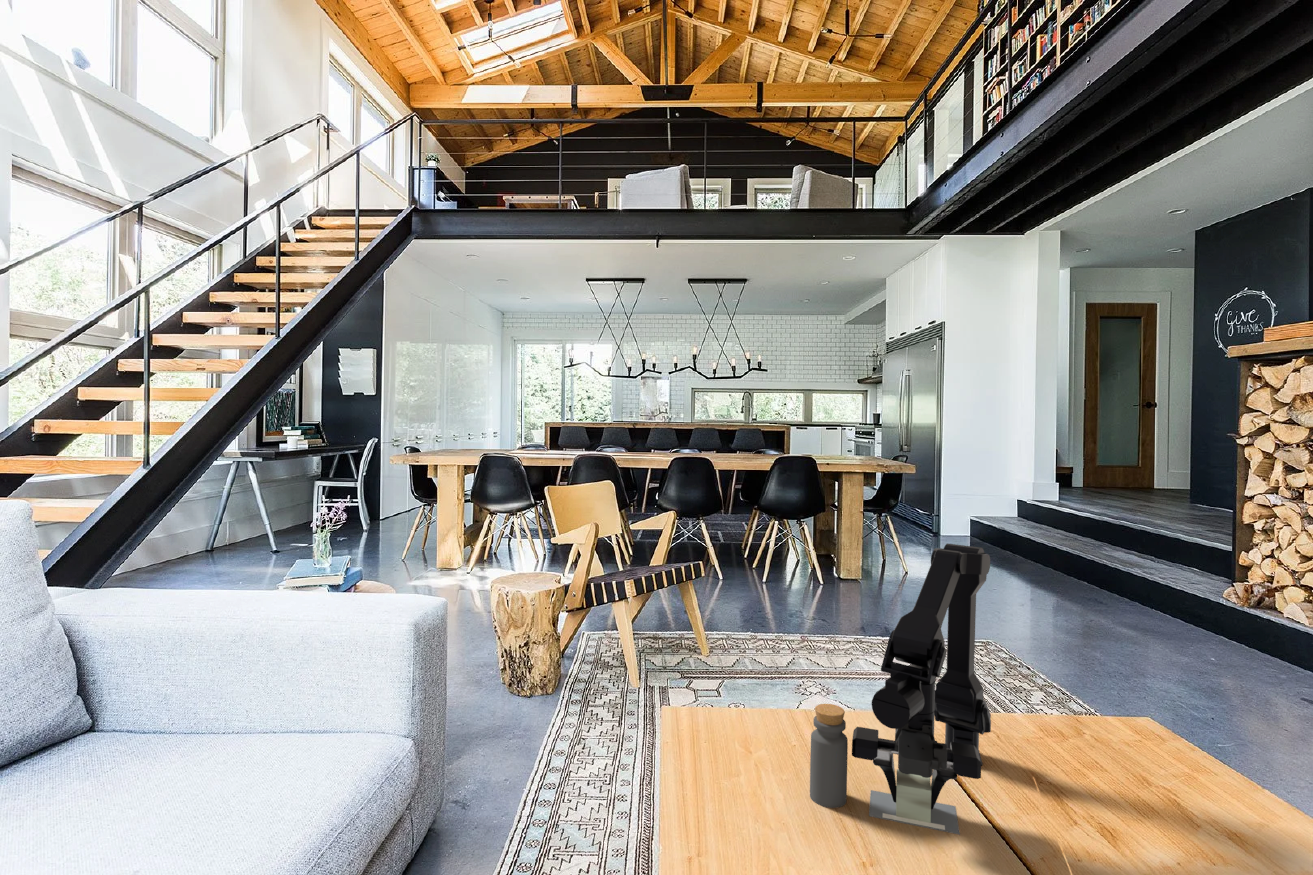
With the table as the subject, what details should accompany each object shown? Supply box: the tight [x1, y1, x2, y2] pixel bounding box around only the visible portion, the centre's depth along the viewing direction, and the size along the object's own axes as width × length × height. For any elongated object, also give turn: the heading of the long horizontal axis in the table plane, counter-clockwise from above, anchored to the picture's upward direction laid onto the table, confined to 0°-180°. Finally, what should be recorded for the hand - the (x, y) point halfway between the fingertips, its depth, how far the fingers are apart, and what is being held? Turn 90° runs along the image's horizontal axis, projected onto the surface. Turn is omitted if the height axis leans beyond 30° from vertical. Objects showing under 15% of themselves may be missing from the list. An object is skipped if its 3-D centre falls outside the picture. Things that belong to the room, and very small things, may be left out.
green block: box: [896, 768, 932, 823], centre depth 106 cm, size 5×5×5 cm
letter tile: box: [868, 789, 961, 836], centre depth 106 cm, size 8×13×1 cm, turn 70°
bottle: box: [809, 703, 849, 809], centre depth 109 cm, size 6×6×15 cm
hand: (912, 804), depth 106 cm, fingers closed on green block, 5 cm apart
